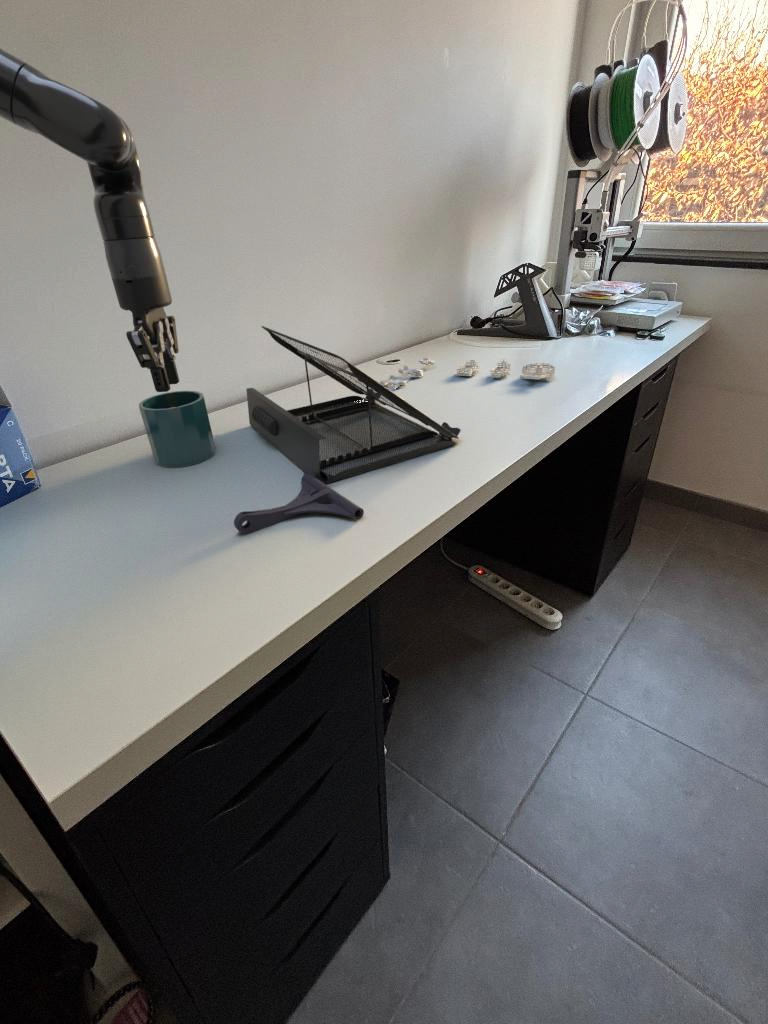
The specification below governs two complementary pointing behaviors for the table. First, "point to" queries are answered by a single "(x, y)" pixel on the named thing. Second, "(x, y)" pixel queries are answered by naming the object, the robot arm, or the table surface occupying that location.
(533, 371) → the drone parts
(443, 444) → the laptop stand
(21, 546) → the table surface
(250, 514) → the bracket
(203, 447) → the pen pot
